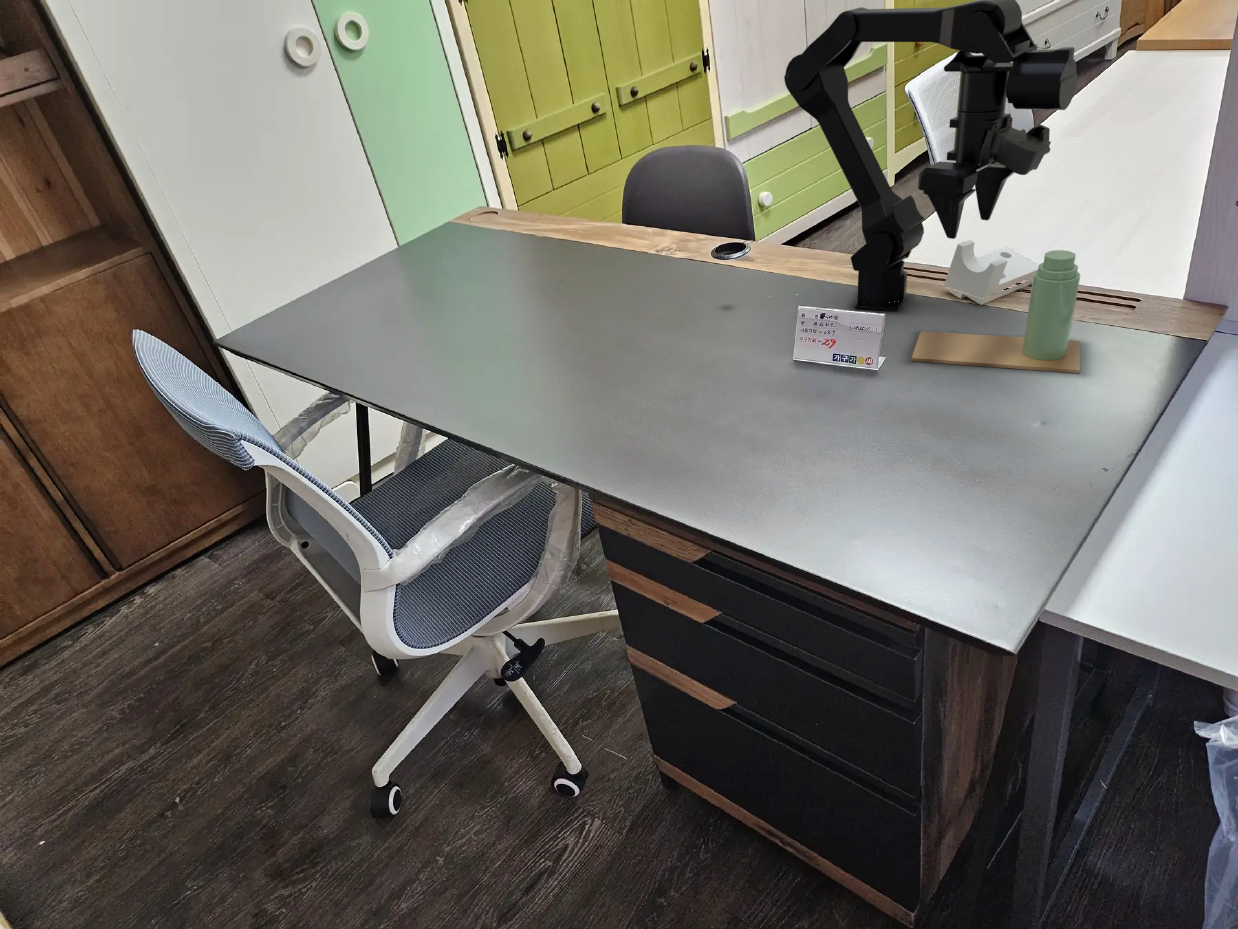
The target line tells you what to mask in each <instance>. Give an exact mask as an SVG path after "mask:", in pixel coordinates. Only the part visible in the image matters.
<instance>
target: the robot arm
mask: <svg viewBox="0 0 1238 929" xmlns="http://www.w3.org/2000/svg"><path fill="white" fill-rule="evenodd" d="M862 43H932V44H938V45H942V46H943V47H946V48H949V49H952V50H956V51H957V52H956V54H955V56H954V57H953V58H952V59H951V60H950V61H949V62H948V63H946V65H944V67H943V71H944V72H946V73H959V72H960V75H959V87H958V98H957V110H956V116H955V117H953V118H950V119H949V125H948V128H950V129H955V131H954V132H955V133H954V142H953V143H954V144H953V149H952V150H949V151H947V152H946V161H937V162H935V163H933V164H931V165H928V166H926V167H924V168H923V169H922V170H921V171H920V172H919V173H918V183H917V189H918V190H919V191H922V192H923V195H926V196H927V197H928V199H929V201H930V202H931V204H932V207H933V209H934V210H935V213H936V215H937V217H938V219H939V221H940V224H941V227H942V229H943V231H944V234H945V236H946V238H947V239H950V240H954V239H957V236H958V232H959V228H960V223H961V218H962V215H963V210H964V206H965V201H966V200H967V199H968V198H969V197H970V196H972V195H973V194H974V193H975V194H976V195H975V196H976V201H977V208H978V213H979V218H980V220H982V221H989V220H990V219H991V217H992V215H993V212H994V209H995V208H996V205H997V202H998V200H999V198H1000V195H1001V194H1002V191H1003V188H1004V186H1005V184H1006V182H1007V180H1009V178H1010V177H1012V176H1013V175H1014V174H1017V175H1020V176H1026V175H1028V174H1029V173H1030V172H1032V171H1033V170H1035V171H1036V170H1037V169H1038V168H1039V166H1040V164H1041V163H1042V160H1043V159H1044V156H1045V155H1048V154H1049V153H1050V152H1051V146H1050V145H1051V143H1052V141H1050V132H1051V131H1050V129H1051V128H1050V127H1047V126H1045V125H1043V124H1041V123H1039V124H1038V125H1035V126H1034V127H1032V128H1031V129H1030V130H1028V131H1027V130H1026V129H1024V128H1023V129H1016V128H1014V127H1013V116H1012V113H1006V106H1007V103H1008V104H1011V105H1012V106H1013V108H1014V109H1015V110H1035V111H1037V110H1041V111H1042V110H1043V111H1045V110H1046V111H1065V110H1067V108H1068V107H1069V106H1070V105H1071V103H1072V100H1073V98H1074V94H1075V91H1076V87H1077V82H1078V76H1079V75H1078V73H1077V62H1076V59H1075V58H1074V57H1075V50H1076V49H1075V47H1073V46H1067V47H1066V46H1064V47H1059V48H1055V49H1054V48H1053V49H1038V47H1037V44H1035V42H1034V40H1033V38H1032V37H1031V35H1030V32H1028V30H1027V28H1026V26H1025V25H1024V23H1023V12H1022V8H1021V6H1020V4H1019V3H1018V2H1017V0H972V1H969V2H965V3H964V2H963V3H960V4H956V5H951V6H947V7H945V6H944V7H907V8H905V7H903V8H902V7H901V8H867V7H861V6H860V7H857V8H853V9H847V10H844V11H842V12H841V13H839V14H838V15H837V17H836V18H835V19H834V20H833V22H831V23H830V25H829V26H828V28H827V29H825V30H824V31H823V32H822V33H821V34H820V35H819V36H818V37H816V38H815V40H813V41H812V42H811V43H810V44H809V45H808V46H807V47H806V48H805V49H804V50H803V52H802V53H800V54H797V55H796V56H794V57H792V59H791V60H790V61H788V64H787V66H786V69H785V75H784V76H783V80H784V81H783V82H784V84H785V87H786V89H787V91H788V92H789V94H790V95H791V97H792V98H793V100H794V101H795V102H796V104H797V105H798V107H800V108H801V109H802V110H803V111H805V112H806V113H807V114H808V115H810V116H811V117H812V118H813V119H815V120H816V122H817V123H818V125H819V127H820V129H821V131H822V133H823V135H824V137H825V139H826V142H827V143H828V145H829V147H830V149H831V151H832V153H833V155H834V157H835V159H836V161H837V163H838V165H839V167H840V170H842V173H843V175H844V176H845V179H846V181H847V183H848V185H849V188H850V189H851V191H852V193H853V195H854V197H855V199H856V201H857V203H858V205H859V207H860V210H861V233H862V236H863V239H864V241H865V244H863V245H862V246H861V247H860V248H859V249H858V250H857V251H855V253H853V254H852V255H851V256H850V261H851V266H852V268H853V271H855V272H858V273H857V298H856V302H855V303H854V309H856V310H857V309H858V310H875V311H877V310H878V311H893V312H894V311H898V310H899V309H900V306H901V305H902V304H903V303H904V302H905V299H906V297H907V286H908V271H906V270H905V259H908V258H909V257H910V255H911V253H912V251H913V250H914V249H915V248H916V247H918V246H919V245H920V243H921V242H922V239H923V236H924V234H925V228H924V224H923V221H925V217H924V216H923V215H922V214H921V213H920V212H919V210H918V208H917V203H916V201H915V199H914V196H912V195H908V196H906V197H904V198H902V197H900V196H899V195H898V194H896V193H895V192H894V191H893V189H892V188H891V185H890V184H889V182H888V180H887V178H886V175H885V174H884V172H883V169H882V168H881V166H880V164H879V161H878V160H877V158H876V156H875V154H874V151H873V149H872V147H871V145H870V143H869V141H868V139H867V138H866V135H865V133H864V131H863V129H862V127H861V126H860V123H859V121H858V119H857V117H856V115H855V113H854V111H853V109H852V107H851V105H850V102H849V80H848V77H847V73H846V69H845V67H846V66H847V65H848V64H849V63H850V62H851V60H852V59H853V58H854V57H855V55H856V53H857V51H858V50H859V48H860V46H861V44H862ZM904 270H905V271H904ZM904 298H905V299H904ZM903 300H904V301H903ZM894 301H895V302H894ZM898 301H899V302H898ZM889 302H890V303H889Z"/></svg>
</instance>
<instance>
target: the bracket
mask: <svg viewBox="0 0 1238 929" xmlns="http://www.w3.org/2000/svg"><path fill="white" fill-rule="evenodd" d="M974 247H975V241H973V240H971V239H967V240H965V241H962V242H960V243H957V245H956V247H955V250H954V254H953V257H952V260H951V263H950V265H949V268H948V272H947V275H946V277H945V281H944V284H943V286H944V287H949V288H951V289H956V290H958V291H962V292H964V293H968V294H970V295H968V294H964V293H961V292H958V291H954V290H951V289H947V288H944V287H943V289H944V290H946V291H947V292H949V293H950V294H952V295H954V296H955V297H957V298H958V299H960V300H961V299H964V298H966V297H967V298H968V299H970V300H972V301H973V302H975V303H977V304H978V305H980V306H981V305H985V304H987V303H989V302H991V301H995V300H996V299H999V298H1001V297H1004V296H1006V295H1008V294H1011V293H1014V292H1016V291H1018V290H1021V289H1024V288H1026V287H1028V286H1032V282H1033V275H1034V272H1035V271H1037V270H1038V266H1039V265H1040V264H1041V263H1038V262H1036V261H1034V260H1033V259H1031V258H1029V257H1027V256H1025V255H1024V254H1022V253H1020V252H1019V251H1016V250H1014V249H1012V248H1011V247H1010V246H1008V245H1006V246H1003V247H1001V248H998V249H996V250H993V251H990V252H988V253H986V254H985V253H984V254H983V255H980V256H977V257H976V255H975V249H974ZM1023 280H1029V281H1026V282H1024V283H1021V284H1019V285H1016V286H1014V287H1012V288H1009V289H1007V290H1004V291H1002V290H1003V289H1006V288H1008V287H1010V286H1012V285H1015V284H1016V283H1018V282H1021V281H1023ZM998 291H1002V292H999V293H997V292H998ZM994 293H997V294H994ZM992 294H994V295H992ZM971 295H973V296H971ZM990 295H992V296H990ZM974 296H977V297H974ZM987 296H989V297H987ZM978 297H980V298H978ZM985 297H987V298H985ZM981 298H984V299H981Z"/></svg>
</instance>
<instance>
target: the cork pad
mask: <svg viewBox="0 0 1238 929" xmlns="http://www.w3.org/2000/svg"><path fill="white" fill-rule="evenodd" d="M1023 342H1024V336H1008V335H991V334H990V335H989V334H975V333H974V334H973V333H959V332H958V333H956V332H943V331H942V332H940V331H925V330H921V331H919V335H918V338H917V341H916V343H915V346H914V350H913V353H912V355H911V360H910V362H920V363H921V362H922V363H931V364H932V363H934V364H946V365H947V364H948V365H960V366H961V365H962V366H973V367H974V366H975V367H985V368H986V367H987V368H1000V369H1001V368H1002V369H1015V370H1027V371H1041V372H1042V371H1043V372H1055V373H1068V374H1080V372H1081V348H1080V347H1081V345H1080V343H1081V342H1080V340H1077V339H1076V340H1072V339H1069V343H1068V348H1067V354H1066V356H1065V357H1063V358H1061V359H1057V360H1038V359H1033V358H1030V357H1028V356H1026V355H1025V354H1024V353H1023V351H1022V349H1023Z"/></svg>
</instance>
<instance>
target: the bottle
mask: <svg viewBox="0 0 1238 929" xmlns="http://www.w3.org/2000/svg"><path fill="white" fill-rule="evenodd" d="M1076 256H1077V255H1076V253H1075V252H1073V251H1071V250H1070V251H1069V250H1064V249H1056V250H1055V249H1054V250H1050V251H1047V252H1045V253H1044V256H1043V262H1040V263H1039V264H1040V265H1039V266H1038V270H1037V271H1035V272H1034V275H1033V282H1032V284H1031V289H1030V297H1029V302H1028V310H1027V316H1026V323H1025V329H1024V335H1023V337H1024V342H1023V349H1022V351H1023V353H1024V354H1025V355H1026V356H1028V357H1030V358H1033V359H1038V360H1057V359H1061V358H1063V357H1065V356H1066V354H1067V348H1068V343H1069V340H1070V337H1071V331H1072V326H1073V318H1074V316H1075V315H1074V314H1075V309H1076V303H1077V297H1078V291H1079V286H1080V281H1081V273H1080V272H1079V266H1078V265H1077V264H1076V263H1075V262H1076Z"/></svg>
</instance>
